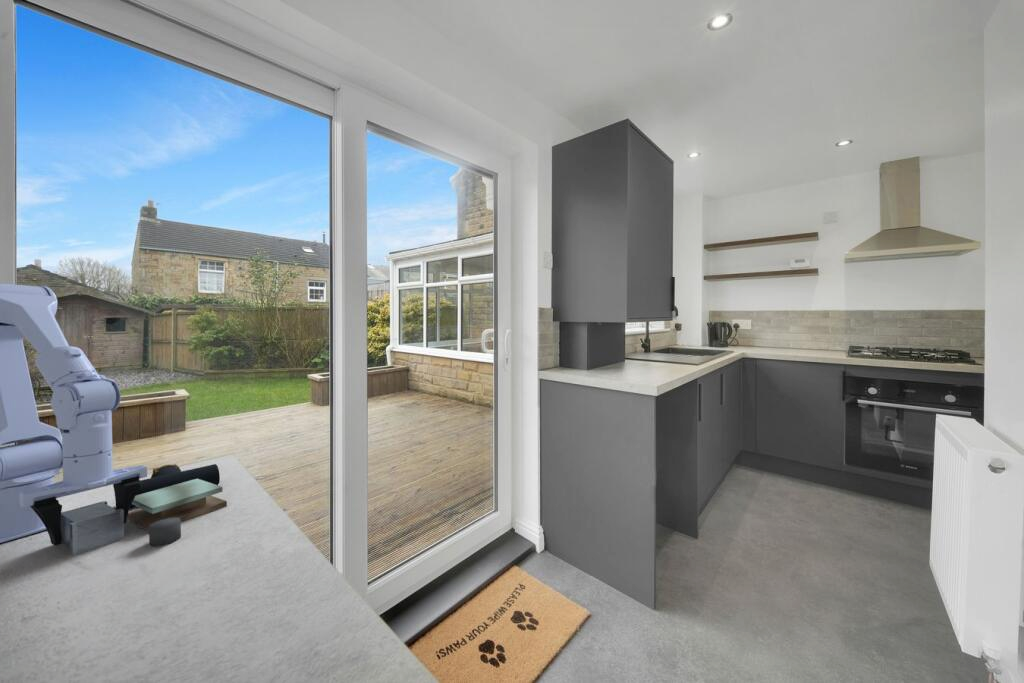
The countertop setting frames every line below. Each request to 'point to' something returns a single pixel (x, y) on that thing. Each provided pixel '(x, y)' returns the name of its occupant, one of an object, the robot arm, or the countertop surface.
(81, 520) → the housing
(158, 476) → the pipe connector
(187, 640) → the countertop surface
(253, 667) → the countertop surface
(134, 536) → the countertop surface
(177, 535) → the knob
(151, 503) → the stand
